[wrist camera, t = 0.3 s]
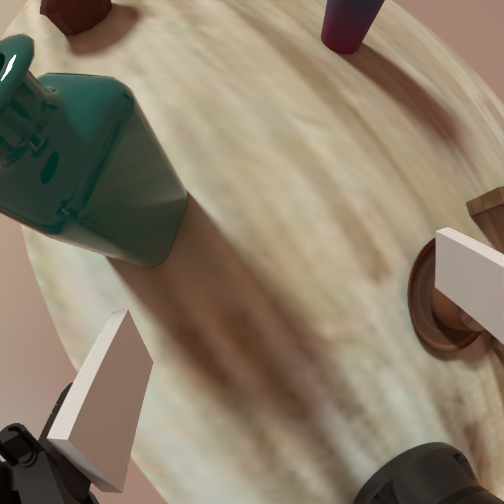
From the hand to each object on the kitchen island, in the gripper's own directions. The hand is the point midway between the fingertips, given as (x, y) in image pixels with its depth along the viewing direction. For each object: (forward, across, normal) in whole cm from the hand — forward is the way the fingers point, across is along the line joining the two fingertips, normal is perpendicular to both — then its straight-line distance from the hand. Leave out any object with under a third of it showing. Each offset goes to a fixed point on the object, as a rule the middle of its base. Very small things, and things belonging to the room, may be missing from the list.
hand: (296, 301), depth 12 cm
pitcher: (+18, +11, -2) cm, 22 cm away
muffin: (+34, +17, -35) cm, 52 cm away
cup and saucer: (+13, -17, +12) cm, 25 cm away
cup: (+27, -16, -17) cm, 36 cm away
